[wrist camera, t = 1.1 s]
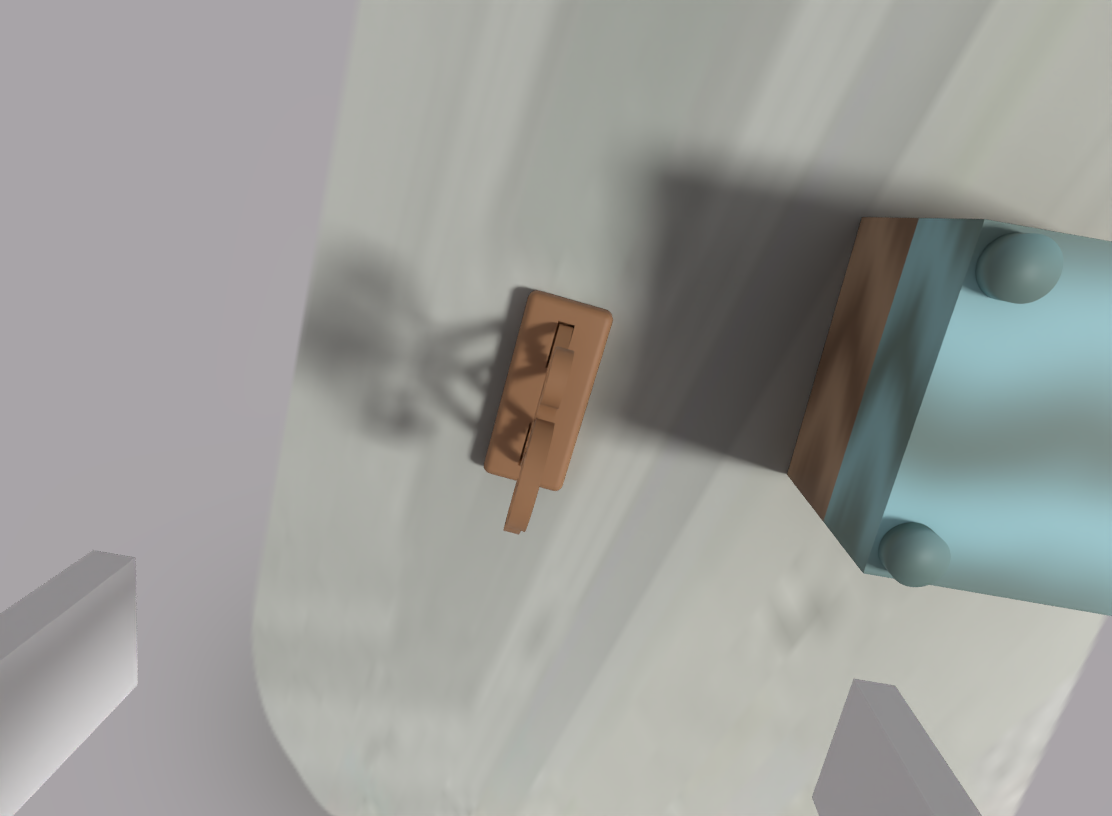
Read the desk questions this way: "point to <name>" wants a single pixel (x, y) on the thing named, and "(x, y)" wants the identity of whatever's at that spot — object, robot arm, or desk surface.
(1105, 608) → the teal and brown block
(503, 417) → the lever handle backplate
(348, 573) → the desk surface
